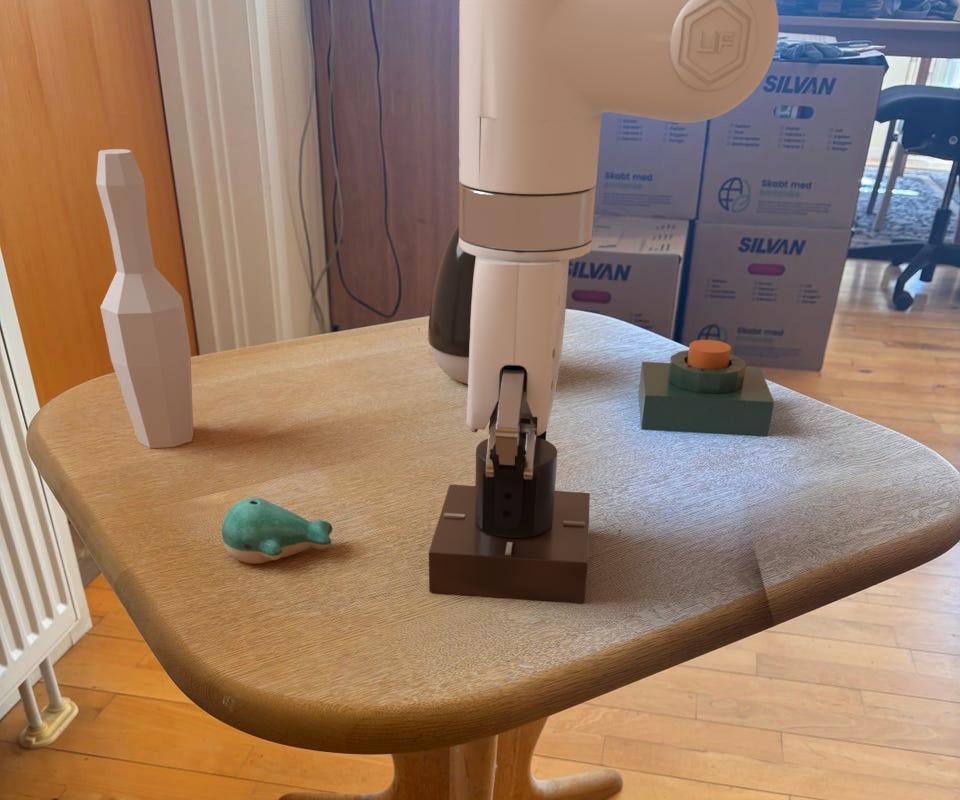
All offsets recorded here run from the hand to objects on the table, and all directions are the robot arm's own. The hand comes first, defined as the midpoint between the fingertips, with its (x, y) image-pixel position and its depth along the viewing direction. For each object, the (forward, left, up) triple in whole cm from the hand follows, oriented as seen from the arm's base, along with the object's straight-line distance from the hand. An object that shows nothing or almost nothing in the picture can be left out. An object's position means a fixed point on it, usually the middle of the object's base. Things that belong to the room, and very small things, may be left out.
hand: (515, 498), depth 64 cm
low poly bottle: (+31, -17, -5) cm, 36 cm away
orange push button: (-15, -29, 0) cm, 33 cm away
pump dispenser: (+6, -36, -5) cm, 37 cm away
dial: (0, 0, -2) cm, 2 cm away
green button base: (-15, -29, -5) cm, 33 cm away
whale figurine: (+16, +1, -5) cm, 17 cm away
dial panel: (0, 0, -5) cm, 5 cm away
